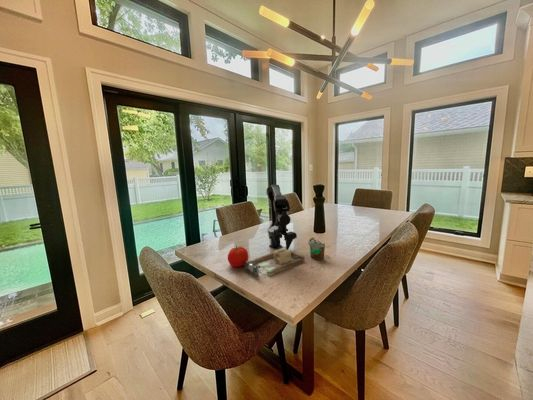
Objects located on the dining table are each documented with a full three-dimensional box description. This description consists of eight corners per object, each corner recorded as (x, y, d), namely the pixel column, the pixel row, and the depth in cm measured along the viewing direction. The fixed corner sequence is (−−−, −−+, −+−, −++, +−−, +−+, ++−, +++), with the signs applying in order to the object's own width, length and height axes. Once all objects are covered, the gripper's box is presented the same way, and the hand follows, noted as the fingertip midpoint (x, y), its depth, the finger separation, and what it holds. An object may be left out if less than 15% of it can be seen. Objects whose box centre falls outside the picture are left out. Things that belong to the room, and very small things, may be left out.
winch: (243, 270, 117) (243, 259, 116) (253, 266, 121) (252, 256, 120) (257, 279, 107) (256, 267, 106) (267, 275, 111) (266, 263, 110)
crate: (273, 261, 126) (273, 251, 125) (284, 257, 131) (284, 247, 130) (280, 264, 122) (280, 254, 121) (291, 260, 126) (291, 250, 125)
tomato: (239, 258, 131) (238, 242, 130) (253, 263, 124) (252, 246, 122) (223, 266, 122) (221, 248, 121) (237, 272, 115) (236, 253, 113)
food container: (304, 254, 134) (304, 238, 132) (313, 252, 136) (313, 237, 134) (316, 262, 122) (315, 245, 121) (325, 260, 124) (325, 243, 123)
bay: (248, 264, 123) (248, 259, 123) (283, 252, 138) (283, 247, 138) (267, 276, 109) (267, 271, 109) (304, 261, 124) (304, 256, 124)
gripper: (259, 220, 125) (260, 246, 128) (281, 226, 111) (281, 256, 113) (275, 216, 132) (275, 241, 134) (297, 222, 117) (297, 250, 120)
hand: (282, 247), depth 125 cm, fingers open, 9 cm apart
